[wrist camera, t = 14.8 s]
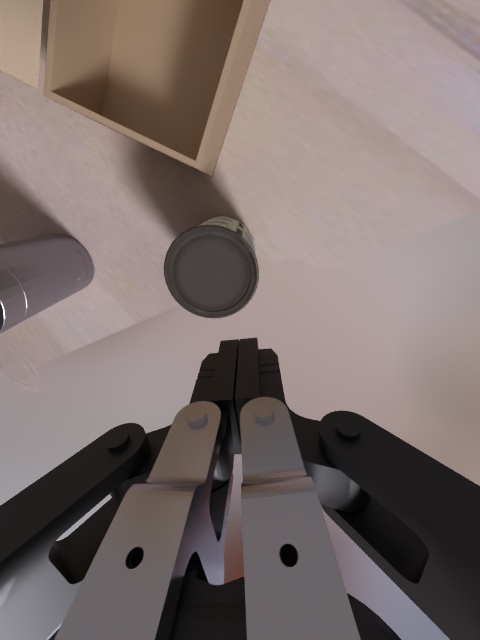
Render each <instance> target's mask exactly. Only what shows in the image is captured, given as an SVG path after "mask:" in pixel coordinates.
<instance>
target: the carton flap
mask: <svg viewBox="0 0 480 640" xmlns="http://www.w3.org/2000/svg"><path fill="white" fill-rule="evenodd" d="M42 14H43V0H0V70H1V71H3V72H5V73H7V74H9V75H11V76H13V77H15V78H17V79H19V80H21V81H23V82H25V83H27V84H29V85H31V86H33V87H35V88H37V89H38V79H39V62H40V46H41V30H42Z"/></svg>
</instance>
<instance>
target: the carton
mask: <svg viewBox="0 0 480 640" xmlns="http://www.w3.org/2000/svg"><path fill="white" fill-rule="evenodd" d="M269 3H270V0H50V12H49V26H48V40H47V55H46V69H45V83H44V96H45V97H47V98H49V99H51V100H53V101H55V102H57V103H60V104H62V105H64V106H66V107H68V108H70V109H72V110H74V111H76V112H78V113H80V114H82V115H84V116H86V117H88V118H90V119H92V120H94V121H96V122H98V123H100V124H102V125H104V126H106V127H108V128H111V129H113V130H115V131H117V132H119V133H121V134H123V135H125V136H127V137H129V138H132V139H134V140H136V141H138V142H140V143H142V144H144V145H146V146H148V147H151V148H153V149H155V150H157V151H159V152H161V153H163V154H165V155H167V156H169V157H172V158H174V159H176V160H178V161H180V162H182V163H184V164H186V165H188V166H191V167H193V168H195V169H197V170H199V171H201V172H203V173H205V174H207V175H209V176H212V175H213V172H214V169H215V166H216V163H217V160H218V157H219V154H220V151H221V148H222V145H223V142H224V139H225V136H226V133H227V130H228V127H229V124H230V121H231V118H232V115H233V112H234V109H235V106H236V103H237V100H238V97H239V94H240V91H241V88H242V85H243V82H244V79H245V76H246V72H247V69H248V66H249V63H250V60H251V57H252V54H253V51H254V48H255V45H256V42H257V39H258V36H259V33H260V30H261V27H262V24H263V21H264V18H265V15H266V12H267V9H268V6H269Z"/></svg>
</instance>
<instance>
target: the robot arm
mask: <svg viewBox="0 0 480 640" xmlns="http://www.w3.org/2000/svg"><path fill="white" fill-rule="evenodd" d="M93 274H94V268H93V263H92V260H91V258H90V256H89V254H88V252H87V251H86V250H85V248H84V247H83V246H82V245H81V244H80V243H78V242H77V241H75V240H74V239H72V238H70V237H67V236H64V235H57V234H55V235H49V236H43V237H38V238H32V239H26V240H21V241H15V242H10V243H5V244H0V333H2V332H4V331H6V330H8V329H9V328H11V327H13V326H15V325H17V324H18V323H20V322H22V321H24V320H26V319H28V318H29V317H31V316H33V315H35V314H37V313H39V312H41V311H42V310H44V309H46V308H48V307H50V306H52V305H54V304H55V303H57V302H59V301H61V300H63V299H65V298H67V297H69V296H71V295H72V294H74V293H76V292H78V291H80V290H82V289H83V288H85V287H86V286H88V285H89V283H90V282H91V280H92V278H93ZM234 454H242V468H243V483H242V485H241V503H242V528H243V552H244V577H242V578H239V579H237V580H233V581H231V582H228V583H226V584H224V544H225V537H226V529H227V522H228V515H229V507H230V500H231V493H232V485H233V462H234ZM109 494H110V495H111V496H112V498H111V499H110V500H109V501H108V502H107V503H105V504H104V505H103V506H102V507H101V508H100V509H99V510H97V511H96V512H95V513H94V514H93V515H92V516H91V517H90V518H88V519H87V520H86V521H85V522H84V523H83V524H82V525H80V526H79V527H78V528H77V529H76V530H75V531H74V532H72V533H71V534H70V535H69V536H68V537H66V538H64V539H62V540H60V541H56V540H57V539H58V538H59V537H60V536H61V535H62V534H63V533H64V532H65V531H67V530H68V529H69V528H70V527H71V526H72V525H73V524H75V523H76V522H77V521H78V520H79V519H81V518H82V517H83V516H84V515H85V514H86V513H87V512H89V511H90V510H91V509H92V508H93V507H95V506H96V505H97V504H98V503H99V502H100V501H102V500H103V499H104V498H105V497H106V496H107V495H109ZM320 504H321V505H320ZM321 506H322V508H323V510H324V511H325V512H326V513H327V515H328V516H329V517H330V518H331V519H332V520H333V521H334V522H335V523H336V524H337V525H338V526H339V527H340V528H341V529H342V530H343V531H344V532H345V533H346V534H347V535H348V536H349V537H350V538H351V539H352V540H353V541H354V542H355V543H356V544H357V545H358V546H359V547H360V548H361V549H362V550H363V551H364V552H365V553H366V554H367V555H368V556H369V557H370V558H371V559H372V560H373V561H374V562H375V563H376V564H377V565H378V567H379V568H381V569H382V571H384V573H385V574H386V575H387V576H388V577H389V578H391V580H392V581H393V582H394V583H395V584H396V585H397V586H398V587H399V588H400V589H401V590H402V591H403V592H404V593H405V594H406V595H407V596H408V597H409V598H410V599H411V600H412V601H413V602H414V603H415V604H416V605H417V606H418V607H419V608H420V609H421V610H422V611H423V612H424V613H425V614H426V615H427V616H428V617H429V618H430V619H431V620H432V621H433V622H434V623H435V624H436V625H437V626H438V627H439V628H440V629H441V631H443V633H444V634H445V635H447V637H448V638H449V639H450V640H480V486H479V485H477V484H475V483H474V482H472V481H470V480H469V479H467V478H465V477H463V476H462V475H460V474H458V473H457V472H455V471H453V470H452V469H450V468H448V467H447V466H445V465H443V464H441V463H440V462H438V461H436V460H435V459H433V458H432V457H430V456H428V455H427V454H425V453H423V452H421V451H420V450H418V449H416V448H415V447H413V446H411V445H410V444H408V443H406V442H405V441H403V440H401V439H400V438H398V437H396V436H395V435H393V434H391V433H390V432H388V431H386V430H385V429H383V428H381V427H380V426H378V425H376V424H375V423H373V422H371V421H370V420H368V419H366V418H365V417H363V416H361V415H359V414H356V413H353V412H349V411H335V412H331V413H329V414H327V415H325V416H324V417H323V418H322V420H321V421H317V420H311V419H307V418H304V417H301V416H299V415H297V414H295V413H294V412H292V411H291V410H290V409H289V407H288V406H287V404H286V402H285V397H284V392H283V386H282V381H281V374H280V369H279V362H278V356H277V355H276V353H275V352H274V351H273V350H272V349H259V350H258V341H257V338H248V339H240V340H238V339H237V340H226V341H221V342H220V347H219V352H218V353H213V354H209V355H208V356H207V357H206V358H205V359H204V360H203V361H202V363H201V367H200V372H199V374H198V379H197V380H196V384H195V387H194V391H193V394H192V397H191V401H190V404H189V405H187V406H185V407H184V408H183V409H182V410H180V411H179V412H178V414H177V415H176V417H175V419H174V421H173V423H172V424H171V425H169V426H167V427H165V428H162V429H159V430H156V431H152V432H150V433H145V431H144V429H143V427H141V426H140V425H139V424H136V423H127V424H122V425H119V426H117V427H115V428H113V429H111V430H109V431H108V432H106V433H105V434H103V435H102V436H101V437H99V438H98V439H96V440H95V441H93V442H92V443H90V444H89V445H88V446H86V447H85V448H83V449H82V450H80V451H79V452H77V453H76V454H75V455H73V456H72V457H70V458H69V459H67V460H66V461H64V462H63V463H62V464H60V465H59V466H57V467H56V468H54V469H53V470H52V471H50V472H49V473H47V474H46V475H44V476H43V477H41V478H40V479H38V480H37V481H36V482H35V483H33V484H31V485H30V486H28V487H27V488H25V489H24V490H23V491H21V492H20V493H18V494H17V495H15V496H14V497H13V498H11V499H10V500H8V501H7V502H6V503H4V504H2V505H1V506H0V640H46V638H47V637H48V636H49V635H50V634H51V633H52V632H53V631H54V630H55V629H56V628H57V627H58V626H59V624H61V623H62V621H63V623H62V625H61V627H60V628H59V629H58V630H57V631H56V632H55V633H54V635H53V636H52V637H51V638H50V639H49V640H401V639H400V638H399V637H398V635H397V634H396V633H395V632H394V631H393V630H392V629H391V628H390V627H389V626H388V625H387V624H386V623H385V622H384V621H383V620H382V619H381V618H380V617H379V616H378V615H377V614H375V613H374V612H373V611H372V610H371V609H369V608H368V607H367V606H366V605H365V604H363V603H362V602H360V601H359V600H357V599H356V598H354V597H352V596H351V595H349V594H348V593H347V592H346V589H345V586H344V583H343V579H342V576H341V572H340V569H339V566H338V562H337V559H336V556H335V553H334V549H333V546H332V542H331V539H330V535H329V532H328V529H327V526H326V522H325V519H324V515H323V512H322V509H321Z"/></svg>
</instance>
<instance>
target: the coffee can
mask: <svg viewBox="0 0 480 640" xmlns="http://www.w3.org/2000/svg"><path fill="white" fill-rule="evenodd" d="M164 276H165V281H166V284H167V286H168V289H169V291H170V293H171V294H172V296H173V297H174V299H175V300H176V301H177V302H178V303H179V304H180V305H181V306H182V307H183V308H185V309H186V310H188V311H189V312H191V313H193V314H195V315H198V316H201V317H206V318H222V317H227V316H230V315H232V314H234V313H236V312H238V311H240V310H241V309H242V308H244V307H245V306H246V305H247V304H248V303H249V301H250V300H251V299H252V297H253V295H254V293H255V291H256V288H257V285H258V279H259V268H258V263H257V259H256V254H255V243H254V239H253V236H252V235H251V233H250V231H249V230H248V229H247V227H246V226H245V225H244V224H242V223H241V222H240V221H238V220H236V219H234V218H231V217H225V216H219V217H213V218H210V219H208V220H206V221H205V222H203V223H202V224H200V225H198V226H196V227H193V228H190V229H188V230H187V231H185V232H183V233H182V234H180V235H179V236H178V237H177V238H176V239H175V240H174V241H173V243H172V244H171V246H170V247H169V249H168V251H167V254H166V258H165V262H164Z"/></svg>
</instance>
